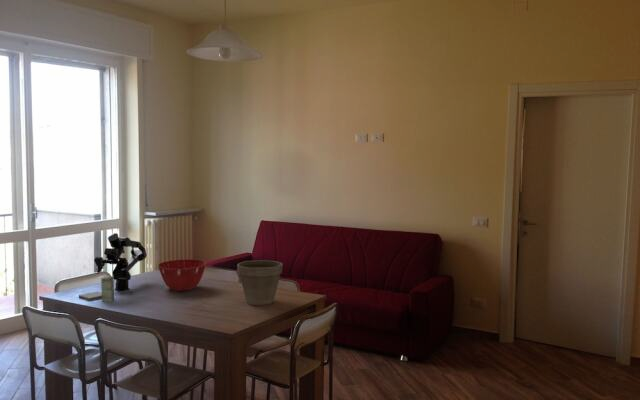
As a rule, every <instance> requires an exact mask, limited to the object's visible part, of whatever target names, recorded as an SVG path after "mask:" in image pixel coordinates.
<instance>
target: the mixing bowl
mask: <svg viewBox="0 0 640 400" xmlns="http://www.w3.org/2000/svg"><path fill="white" fill-rule="evenodd" d="M206 265H207V262H206V261H205V260H201V259H193V258H191V259H190V258H186V259H173V260H166V261H163V262H160V263H158V264H157V267H158V269H159V273H160V276H161V278H162V280H163V283H164V284H165V285H166V287H168V288H169V289H171V290H172V291H176V292H186V291H191V290H194V289H195V288H196V287H197V286H198V285H199V284H200V282H201V280H202V277H203V274H204V271H205V268H206Z"/></svg>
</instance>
